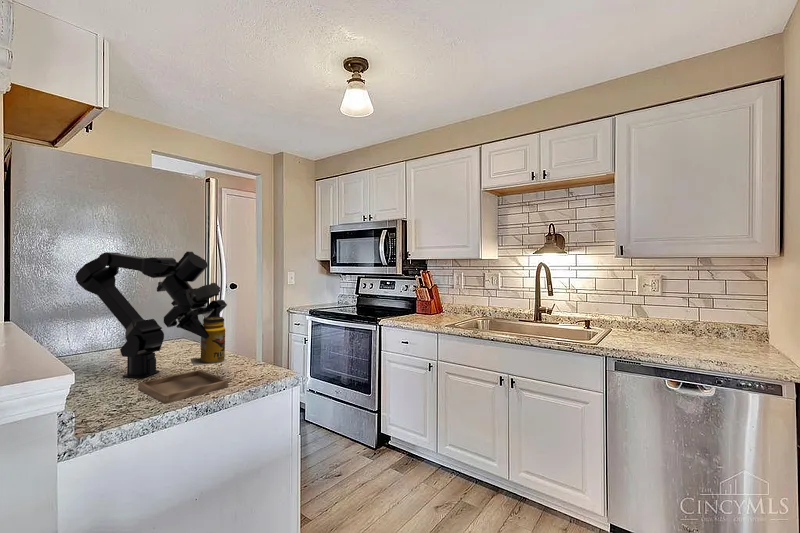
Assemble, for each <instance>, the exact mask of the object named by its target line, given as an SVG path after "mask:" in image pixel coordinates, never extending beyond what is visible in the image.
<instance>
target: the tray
mask: <svg viewBox="0 0 800 533" xmlns="http://www.w3.org/2000/svg"><path fill="white" fill-rule="evenodd" d="M228 387H229V380H228V379H225V378H224V377H223V378H222V377H219V376H217V375H214V374H212V373H210V372H209V373H208V372H206V371H203V370H200V369H197V370H193V371H187V372H183V373H179V374H173V375H170V376H164V377H159V378H154V379H151V380H146V381H141V382H138V387H137V388H138V391H141V392H143V393H144V394H146V395H148V396H150V397H151V398H154V399H155V398H156V400H157V399H158V401H160V402H161V403H163V404H169V403H172V402H176V401H181V400H184V399H187V398H192V397H195V396H199V395H203V394H207V393H212V392H214V391H219V390H222V389H225V388H226V389H227V388H228Z"/></svg>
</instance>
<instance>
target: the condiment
mask: <svg viewBox="0 0 800 533" xmlns="http://www.w3.org/2000/svg"><path fill="white" fill-rule="evenodd" d="M202 325H203V327H204V328H205V330H206V331H207V333H208V335H209V337H208V338H206V339H205V338H203V337H201V336H200V357H192V358H189V360H190V362H191V364H192V365H193V366H192V367H197V366H204V365H205V366H206V365H217V364H225V363H228V362H229V361H228V360H227V358H226V357H225V356H226V353H225V352H226V327H225V318H224V317H223V316H220V317H206V318H203V320H202Z"/></svg>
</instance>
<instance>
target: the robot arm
mask: <svg viewBox="0 0 800 533" xmlns="http://www.w3.org/2000/svg"><path fill="white" fill-rule="evenodd" d="M120 268H121V269H126V270H132V271H137V272H138V271H139V272H141V274H143V275H144V276H147V277H149V278H152V279H159V278H163V280H162V281H158V282H157V287H156V292H158V293H160V292H166V293H167V294H168V295H169V296H170V298H171V299H172V300H173V301H172V302H171V306H173V307H172V308H171V309H170V310H169V311H168V312H167V313H166V314H165V315H164V316H163V324H164V325H165V326H166V327H167V328H173V327H176V328H178V329H182V330H185V331H187V332H189V333H192V334H195V335H196V336H199V337H200V338H201V337H203V338H205V339H206V338H208V337H209V335H208V333H207V331H206V330H205V328H204V327H203V323H201V321H200V319H199V316H203V317H204V318H206V317H221V313H222V311H223V310H224V309H225V308H226V307H227V306H228V303H226V301H225V300H224V299H216V300H215V299H214V300H211V301H210V300H209V299H211V298H214V297H218V296H219V295H220V294H219V293H220V292H221V287H220V286H219V285H218V284H217V283H216V282H210V284H204V285H202V286H200V287H197V288H193V287H192V286H191V285H190V283H192V282H195V281H196V280H197V279H198V278H199V277H200V276H201V275H202V273H203V272H205V270H206V269H207V268H208V262H207V261H206V259H204V258H203V257H201V256H200V255H197V254H196V253H194V252H193V251H186V252H185V253H184V254H183V255H182V257H181V258H180V259H179V261H178V262H177V260H176V259H175V257H144V256H143V257H142V256H137V255H132V254H130V255H129V254H124V253H120V252H111V251H110V252H107V251H106V252H103V253H101V254H99V255H98V256H97V257H96V258H95V259H92V260H91V261H89V262H86V263H85V264H84V265H83V266H82V267H80V269H78V270H77V271H76V273H75V281H76V283H77V284H78V285H79V286H80V287H81V288H82V289H83V290H85V291H86V292H89V293H92V294H93V295H96V296H97V297H98V298H99V299H100V300H101V301H102V303H103V305H105V306H106V307H107V308H108V310H109V311H110V312H111V314H112V315H113V316H114V317H115V318H116V319H117V320H118V322H119V323H120V324H121V326H122V327H123V328H124V329H125V335H124V336H125V343H124V344H123V345H122V346H121V347H120V348H119V349H120V350H119V351H120V354H121V357H126V358H127V362H126V364H127V365H126V366H127V367H126V372H127V373H125V374H123V375H122V378H134V379H144V378H148V377H150V376H151V375H154V374H157V373H160V370H158V369H157V358H156V352H160V351H161V348H162V345H163V343H164V338H165V333H164V330H162V329H163V327H162V326H160V325H159V324H158V322H157V320H155V319H154V318H150V319H149V318H148V319H144V318H143V317H142V316H141V315H140V314H139V312H138V311H137V309H135V307H134V306H133V305H132V304H131V303H130V301H128V299H127V298H126V297H125V296H124V294H122V292H121V291H120V290H119V289H118V288H117V286H116V276H117V275H118V274H119V269H120ZM189 282H190V283H189ZM206 304H207V305H206ZM204 318H203V319H204Z"/></svg>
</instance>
